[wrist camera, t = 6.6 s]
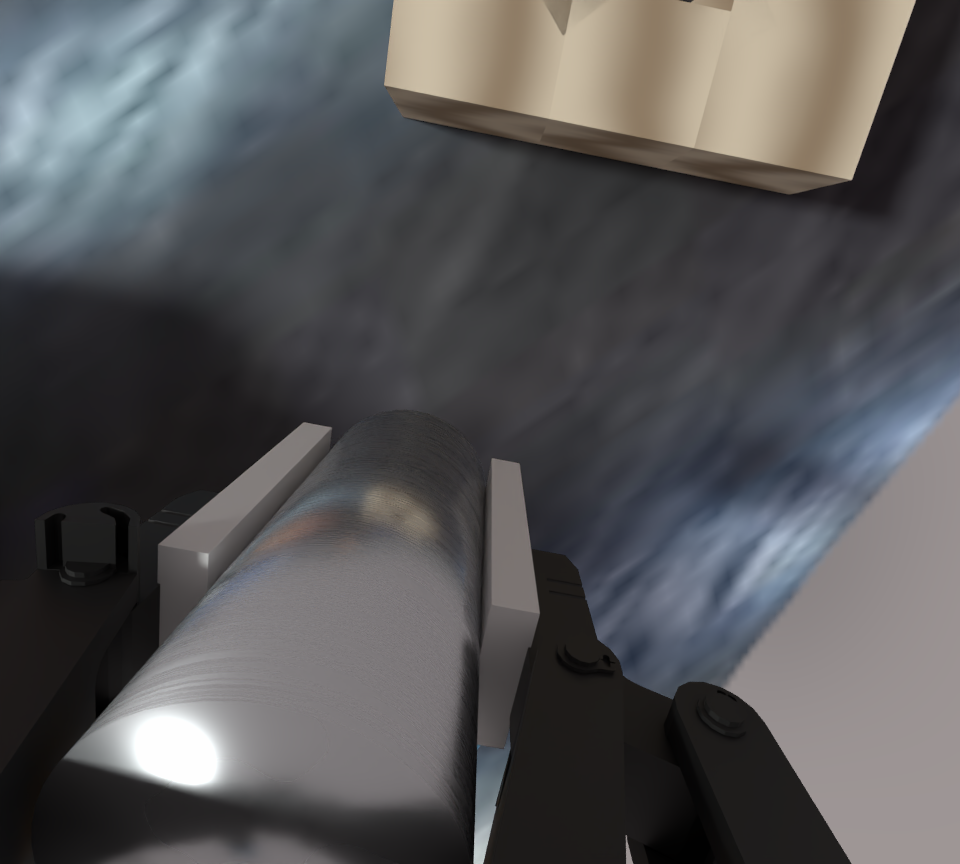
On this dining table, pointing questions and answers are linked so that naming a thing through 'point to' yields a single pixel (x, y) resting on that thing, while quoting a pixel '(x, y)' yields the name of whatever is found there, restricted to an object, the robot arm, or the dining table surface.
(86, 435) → the dining table surface
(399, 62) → the jig
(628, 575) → the dining table surface
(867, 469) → the dining table surface
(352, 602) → the grey metal peg
